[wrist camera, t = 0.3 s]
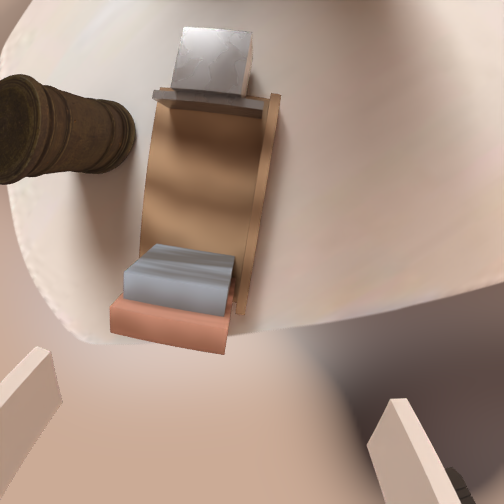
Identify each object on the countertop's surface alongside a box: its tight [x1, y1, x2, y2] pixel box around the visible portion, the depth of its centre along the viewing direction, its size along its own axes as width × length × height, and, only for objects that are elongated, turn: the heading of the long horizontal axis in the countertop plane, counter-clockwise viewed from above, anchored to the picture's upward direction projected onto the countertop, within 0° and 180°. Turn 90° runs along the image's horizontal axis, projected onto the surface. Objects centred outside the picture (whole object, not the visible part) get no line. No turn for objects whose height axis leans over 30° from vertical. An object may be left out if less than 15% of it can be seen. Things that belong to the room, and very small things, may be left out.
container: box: [0, 74, 135, 185], centre depth 25 cm, size 9×9×18 cm
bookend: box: [152, 27, 264, 119], centre depth 27 cm, size 7×10×8 cm
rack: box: [110, 87, 281, 355], centre depth 29 cm, size 23×13×14 cm, turn 171°
